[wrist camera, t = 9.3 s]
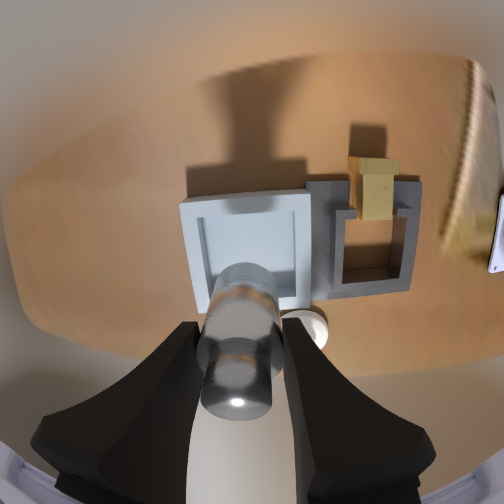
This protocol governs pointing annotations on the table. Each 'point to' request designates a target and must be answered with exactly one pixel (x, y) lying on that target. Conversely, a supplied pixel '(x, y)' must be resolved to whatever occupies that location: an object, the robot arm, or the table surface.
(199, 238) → the tray
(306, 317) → the chess piece
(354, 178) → the tan stepped block
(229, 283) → the stepped metal cylinder
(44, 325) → the table surface
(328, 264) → the socket
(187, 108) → the table surface
